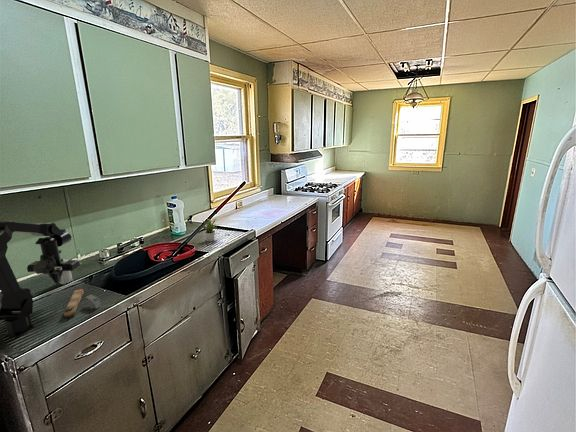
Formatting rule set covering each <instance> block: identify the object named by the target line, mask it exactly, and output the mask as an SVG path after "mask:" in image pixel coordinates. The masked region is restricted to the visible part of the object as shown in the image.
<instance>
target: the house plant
mask: <svg viewBox="0 0 576 432" xmlns="http://www.w3.org/2000/svg"><path fill="white" fill-rule="evenodd" d="M217 219H218V217H216V218H214V219H213V220H212V219H210V218H209V219H208V218H207V220H206V219H204V220H202V219H200V221H201V222H203V223H205V222H206V223H205V225H203V227H201V225H202V224H199V226H200V227H201V229H204V230H205V231H204V237H205V239H206V241H207V242H213V241H215V237H216V236H215V235H216V231H215V230H214V229H215V228H217V225H215V224H216V221H217ZM217 229H218V228H217Z"/></svg>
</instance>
